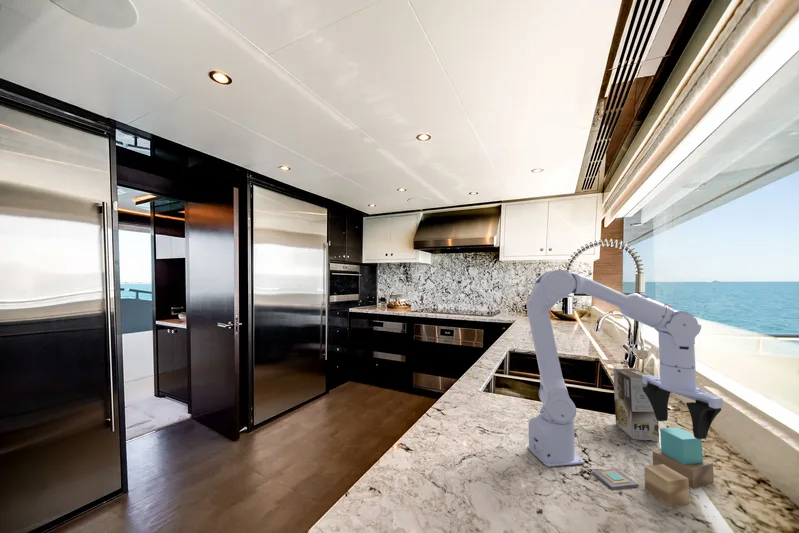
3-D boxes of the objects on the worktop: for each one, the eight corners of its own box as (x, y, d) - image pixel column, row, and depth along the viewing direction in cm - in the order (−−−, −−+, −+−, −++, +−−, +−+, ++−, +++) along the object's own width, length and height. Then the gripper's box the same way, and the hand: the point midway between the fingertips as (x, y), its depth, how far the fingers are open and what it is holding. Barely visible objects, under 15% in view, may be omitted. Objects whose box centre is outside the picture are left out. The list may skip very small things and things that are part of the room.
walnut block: (693, 490, 58) (692, 470, 59) (653, 469, 65) (652, 451, 65) (713, 482, 61) (712, 462, 61) (672, 463, 67) (672, 445, 67)
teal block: (702, 462, 61) (701, 438, 61) (683, 464, 60) (682, 439, 61) (679, 450, 65) (678, 427, 66) (661, 451, 65) (660, 428, 65)
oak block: (669, 506, 54) (668, 481, 54) (645, 489, 58) (644, 466, 59) (689, 503, 54) (688, 478, 55) (664, 487, 59) (663, 464, 59)
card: (612, 489, 58) (611, 485, 58) (592, 473, 63) (592, 469, 63) (638, 486, 59) (638, 482, 59) (616, 470, 64) (616, 467, 64)
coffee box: (660, 442, 75) (658, 378, 76) (632, 439, 77) (630, 377, 78) (639, 425, 84) (637, 368, 85) (614, 423, 86) (612, 367, 87)
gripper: (734, 374, 57) (738, 445, 57) (659, 356, 72) (661, 412, 71) (704, 375, 56) (707, 448, 56) (633, 357, 71) (636, 414, 70)
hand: (679, 428), depth 63 cm, fingers open, 7 cm apart
